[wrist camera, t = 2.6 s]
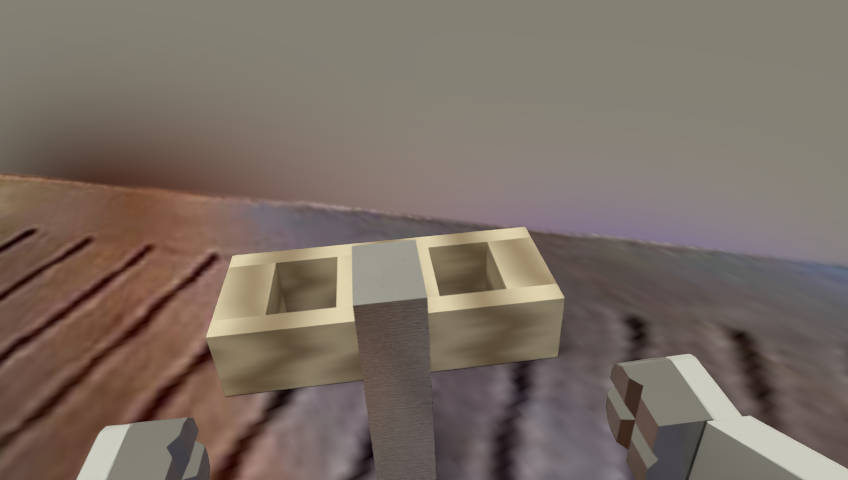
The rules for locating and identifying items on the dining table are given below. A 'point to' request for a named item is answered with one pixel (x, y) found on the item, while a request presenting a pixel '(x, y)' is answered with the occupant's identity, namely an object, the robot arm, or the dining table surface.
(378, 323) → the grey square pillar
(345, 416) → the dining table surface
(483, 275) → the hollow cinder block
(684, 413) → the robot arm
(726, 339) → the dining table surface
